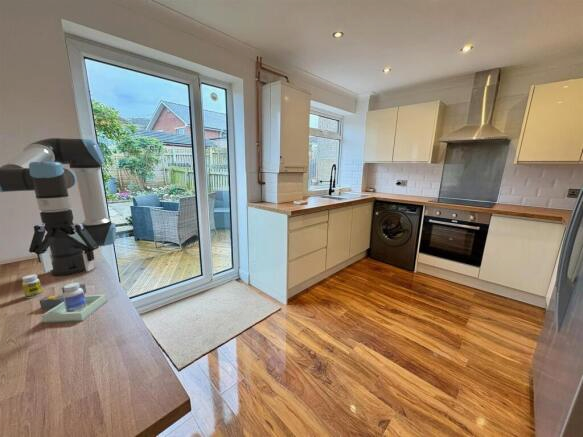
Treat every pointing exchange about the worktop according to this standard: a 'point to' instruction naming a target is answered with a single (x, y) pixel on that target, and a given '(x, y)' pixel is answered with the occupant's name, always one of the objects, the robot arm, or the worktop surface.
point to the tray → (61, 315)
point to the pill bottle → (74, 298)
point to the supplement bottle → (31, 286)
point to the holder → (55, 299)
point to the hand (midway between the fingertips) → (69, 270)
